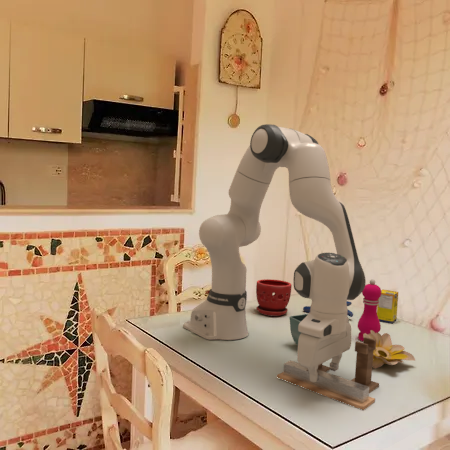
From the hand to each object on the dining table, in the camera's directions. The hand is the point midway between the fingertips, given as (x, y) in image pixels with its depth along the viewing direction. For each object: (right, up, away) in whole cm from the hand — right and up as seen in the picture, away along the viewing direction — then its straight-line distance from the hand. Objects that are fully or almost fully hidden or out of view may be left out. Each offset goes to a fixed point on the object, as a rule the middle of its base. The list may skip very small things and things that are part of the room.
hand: (324, 375), depth 122 cm
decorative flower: (+20, -3, +18) cm, 27 cm away
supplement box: (+36, +1, +62) cm, 71 cm away
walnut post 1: (0, -2, +12) cm, 13 cm away
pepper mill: (+22, -1, +39) cm, 45 cm away
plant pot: (-6, +3, +66) cm, 66 cm away
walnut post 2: (+10, -4, +3) cm, 11 cm away
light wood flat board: (0, -4, 0) cm, 4 cm away
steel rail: (0, -3, 0) cm, 3 cm away
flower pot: (+1, -1, +30) cm, 30 cm away
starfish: (+15, +3, +67) cm, 69 cm away
